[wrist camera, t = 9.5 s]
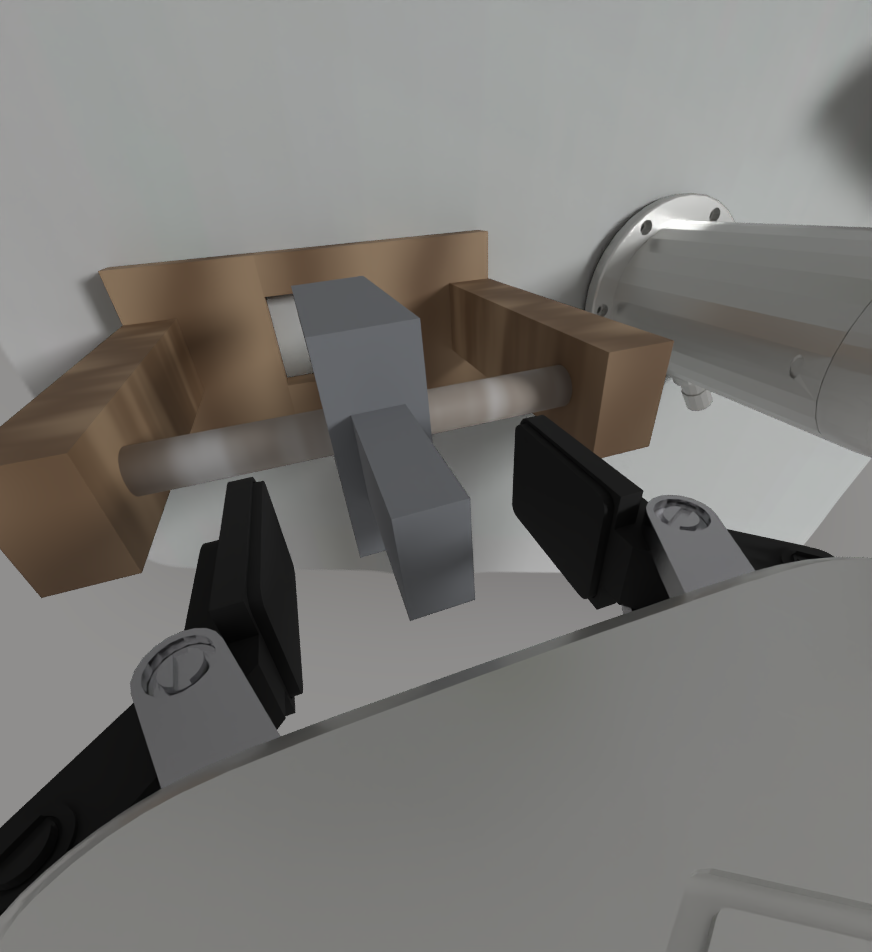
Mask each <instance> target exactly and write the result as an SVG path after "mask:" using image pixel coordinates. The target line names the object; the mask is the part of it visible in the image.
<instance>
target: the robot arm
mask: <svg viewBox="0 0 872 952" xmlns="http://www.w3.org/2000/svg"><path fill="white" fill-rule="evenodd" d="M585 311H587V312H590V313H593V314H596V315H599V316H602V317H605V318H608V319H611V320H614V321H617V322H620V323H623V324H626V325H629V326H632V327H635V328H638V329H641V330H644V331H647V332H650V333H653V334H656V335H659V336H662V337H665V338H668V339H671V340H674V344H673V348H672V352H671V356H670V360H669V365H668V369H667V373H666V375H667V376H669V377H672V378H673V381H674V383H675V384H677V385H678V386H681V388H682V390H681V392H682V394H683V397H684V400H685V403H686V406H687V408H688V409H690V410H692V411H700V410H703V409H706V408H707V407H709V406H710V405H711V403H712V402H713V399H712V395H711V392H713V393H716V394H718V395H721V396H723V397H725V398H728V399H730V400H732V401H735V402H737V403H740V404H742V405H744V406H747V407H749V408H751V409H754V410H756V411H759V412H761V413H763V414H766V415H768V416H770V417H773V418H775V419H777V420H780V421H782V422H785V423H787V424H789V425H792V426H794V427H796V428H799V429H801V430H804V431H806V432H808V433H811V434H813V435H815V436H818V437H820V438H823V439H825V440H828V441H830V442H832V443H834V444H837V445H839V446H841V447H844V448H846V449H849V450H851V451H853V452H856V453H859V454H862V455H865V456H868V457H872V228H870V227H843V226H816V225H789V224H763V223H736V222H735V221H734V219H733V217H732V216H731V214H730V212H729V210H728V209H727V208H726V207H725V206H724V205H723V204H722V203H721V202H720V201H719V200H717V199H714V198H712V197H710V196H708V195H704V194H696V193H686V194H674V195H671V196H668V197H664V198H661V199H659V200H657V201H655V202H653V203H651V204H650V205H648V206H646V207H644V208H643V209H642V210H641V211H639V212H638V213H637V214H636V215H634V216H633V217H632V218H631V219H629V221H628V222H627V223H626V224H625V225H624V226H623V227H622V228H621V229H620V230H619V231H618V233H617V234H616V235H615V236H614V238H613V239H612V241H611V242H610V244H609V245H608V247H607V248H606V250H605V251H604V253H603V255H602V257H601V259H600V261H599V263H598V265H597V267H596V269H595V272H594V275H593V278H592V281H591V283H590V286H589V290H588V295H587V300H586V306H585ZM642 494H643V490H642V489H640V488H639V487H638V486H637V485H635V484H634V483H633V482H631V481H630V480H629V479H627V478H626V477H625V476H623V475H622V474H621V473H619V472H618V471H617V470H616V469H614V468H613V467H612V466H610V465H609V464H608V463H606V462H605V461H604V460H602V459H601V458H600V457H599V456H597V455H596V454H595V453H593V452H592V451H591V450H589V449H588V448H587V447H585V446H584V445H583V444H581V443H580V442H579V441H578V440H576V439H575V438H574V437H572V436H571V435H570V434H568V433H567V432H566V431H564V430H563V429H562V428H560V427H559V426H558V425H557V424H555V423H554V422H553V421H551V420H550V419H549V418H547V417H546V416H544V415H539V416H534V417H529V418H525V419H523V420H522V421H521V423H520V425H518V426H516V430H515V449H514V473H513V497H512V506H513V510H514V513H515V515H516V516H517V518H518V519H519V520H520V521H521V523H522V524H523V525H524V526H525V528H526V529H527V530H528V531H529V533H530V534H531V535H532V536H533V538H534V539H535V540H536V541H537V543H538V544H539V545H540V546H541V548H542V549H543V550H544V551H545V553H546V554H547V555H548V557H549V558H550V559H551V560H552V562H553V563H554V564H555V565H556V567H557V568H558V569H559V570H560V572H561V573H562V574H563V575H564V576H565V578H566V579H567V580H568V582H569V583H570V584H571V585H572V587H573V588H574V589H575V590H576V592H577V593H578V594H579V595H580V596H581V597H582V598H583V599H587V598H588V599H589V600H590V602H591V603H592V604H593V606H594V607H595V608H596V609H600V608H603V607H606V606H609V605H612V604H615V603H616V602H617V603H618V604H619V605H622V611H623V615H620V616H618V617H615V618H612V619H609V620H606V621H603V622H600V623H597V624H594V625H592V626H589V627H586V628H583V629H580V630H577V631H574V632H572V633H569V634H566V635H563V636H560V637H557V638H554V639H552V640H549V641H546V642H543V643H540V644H537V645H534V646H532V647H529V648H526V649H523V650H520V651H517V652H514V653H512V654H509V655H506V656H503V657H500V658H497V659H495V660H492V661H489V662H486V663H483V664H480V665H478V666H475V667H472V668H469V669H466V670H463V671H461V672H458V673H455V674H452V675H449V676H447V677H444V678H441V679H438V680H436V681H432V682H430V683H427V684H424V685H421V686H419V687H416V688H413V689H410V690H407V691H405V692H402V693H399V694H396V695H393V696H390V697H388V698H385V699H382V700H379V701H377V702H374V703H371V704H368V705H365V706H363V707H360V708H357V709H354V710H351V711H349V712H346V713H343V714H340V715H337V716H335V717H332V718H329V719H327V720H324V721H321V722H319V723H316V724H313V725H311V726H308V727H305V728H303V729H300V730H297V731H295V732H292V733H289V734H287V735H284V736H280V735H279V733H278V731H277V729H278V728H279V726H280V725H281V724H282V722H283V721H284V720H285V716H288V715H290V714H293V713H295V698H294V696H296V695H299V694H302V693H303V681H302V666H301V652H300V639H299V625H298V624H299V623H298V609H297V595H296V581H295V572H294V567H293V563H292V560H291V557H290V554H289V551H288V548H287V545H286V542H285V539H284V536H283V533H282V531H281V528H280V525H279V522H278V519H277V516H276V513H275V510H274V507H273V504H272V502H271V499H270V496H269V493H268V490H267V487H266V484H265V482H264V481H260V482H256V481H255V479H254V478H253V477H250V478H246V479H241V480H236V481H232V482H228V484H227V490H226V496H225V503H224V510H223V516H222V523H221V530H220V537H219V540H217V541H213V542H209V543H205V544H203V545H202V547H201V549H200V554H199V559H198V564H197V569H196V574H195V579H194V584H193V589H192V594H191V599H190V604H189V609H188V614H187V619H186V625H185V629H184V631H182V632H179V633H177V634H175V635H173V636H170V637H168V638H166V639H165V640H164V641H162V642H161V643H159V644H158V645H156V646H155V647H154V648H153V649H152V650H151V651H150V652H149V653H148V654H147V655H146V656H145V657H144V658H143V659H142V660H141V662H140V663H139V665H138V666H137V668H136V669H135V671H134V674H133V676H132V679H131V682H130V687H131V696H132V699H133V702H134V703H133V704H132V705H131V706H130V707H129V708H128V709H127V710H126V711H124V712H123V713H122V714H121V715H120V716H119V717H118V718H117V719H116V720H115V721H114V722H113V723H112V724H111V725H110V726H109V727H107V728H106V729H105V730H104V731H103V732H102V733H101V734H100V735H99V736H98V737H97V738H96V739H95V740H93V741H92V742H91V743H90V744H89V745H88V746H87V747H86V748H85V749H84V750H83V751H82V752H81V753H80V754H79V755H77V756H76V757H75V758H74V759H73V760H72V761H71V762H70V763H69V764H68V765H67V766H66V767H65V768H64V769H63V770H61V771H60V772H59V773H58V774H57V775H56V776H55V777H54V778H53V779H52V780H51V781H50V782H49V783H48V784H47V785H45V786H44V787H43V788H42V789H41V790H40V791H39V792H38V793H37V794H36V795H35V796H34V797H33V798H32V799H31V800H30V801H28V802H27V803H26V804H25V805H24V806H23V807H22V808H21V809H20V810H19V811H18V812H17V813H16V814H15V815H13V816H12V817H11V818H10V819H9V820H8V821H7V822H6V823H5V824H4V825H3V826H2V827H1V828H0V952H872V558H864V557H862V558H861V557H834V556H832V555H831V554H829V553H827V552H825V551H822V550H819V549H815V548H810V547H807V546H803V545H798V544H794V543H789V542H784V541H780V540H775V539H770V538H766V537H761V536H756V535H752V534H747V533H742V532H738V531H733V530H729V529H726V528H725V526H724V525H723V523H722V522H721V520H720V519H719V517H718V516H717V515H716V513H715V512H714V511H713V510H712V509H711V508H709V507H708V506H706V505H705V504H703V503H701V502H699V501H696V500H694V499H692V498H688V497H684V496H677V495H663V496H658V497H655V498H653V499H652V500H650V501H649V502H647V501H646V500H645V499H644V498H642Z"/></svg>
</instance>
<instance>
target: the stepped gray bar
mask: <svg viewBox="0 0 872 952" xmlns="http://www.w3.org/2000/svg"><path fill="white" fill-rule="evenodd" d="M291 288H292V292H293V296H294V300H295V304H296V308H297V312H298V316H299V320H300V323H301V327H302V331H303V334H304V338H305V342H306V346H307V349H308V353H309V357H310V360H311V364H312V368H313V372H314V376H315V380H316V384H317V388H318V392H319V396H320V400H321V404H322V408H323V412H324V416H325V420H326V424H327V428H328V432H329V436H330V439H331V443H332V447H333V451H334V458H335V462H336V466H337V469H338V473H339V477H340V481H341V485H342V489H343V493H344V496H345V500H346V504H347V508H348V512H349V516H350V519H351V523H352V527H353V531H354V535H355V539H356V542H357V546H358V550H359V554H360V558H361V557H364V556H368V555H371V554H375V553H378V552H382V551H385V550H386V552H387V555H388V557H389V560H390V563H391V566H392V569H393V572H394V575H395V578H396V581H397V584H398V587H399V590H400V593H401V596H402V598H403V601H404V605H405V607H406V610H407V613H408V616H409V619H410V621H411V620H414V619H417V618H421V617H423V616H427V615H430V614H433V613H436V612H439V611H442V610H445V609H448V608H451V607H454V606H457V605H460V604H463V603H466V602H469V601H472V600H475V590H474V568H473V547H472V527H471V507H470V497H469V496H468V494H467V493H466V491H465V490H464V489H463V487H462V486H461V484H460V483H459V481H458V480H457V478H456V477H455V475H454V474H453V473H452V471H451V470H450V468H449V467H448V465H447V464H446V462H445V461H444V459H443V458H442V457H441V455H440V454H439V452H438V451H437V449H436V448H435V446H434V445H433V442H432V432H431V422H430V412H429V402H428V393H427V383H426V373H425V363H424V353H423V343H422V333H421V323H420V318H419V317H418V316H416V315H415V314H414V313H412V312H411V311H410V310H408V309H407V308H406V307H404V306H403V305H402V304H400V303H399V302H398V301H396V300H395V299H394V298H392V297H391V296H390V295H388V294H387V293H386V292H384V291H383V290H382V289H380V288H379V287H378V286H376V285H375V284H374V283H372V282H371V281H370V280H368V279H367V278H366V277H364V276H357V277H350V278H343V279H336V280H329V281H322V282H315V283H308V284H301V285H294V286H291Z"/></svg>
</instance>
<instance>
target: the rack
mask: <svg viewBox="0 0 872 952" xmlns="http://www.w3.org/2000/svg"><path fill="white" fill-rule="evenodd" d="M98 272H99V274H100V277H101V279H102V281H103V283H104V285H105V288H106V290H107V292H108V294H109V296H110V299H111V301H112V303H113V305H114V307H115V310H116V312H117V314H118V316H119V318H120V321H121V323H122V325H123V326H122V327H120V328H119V329H118V330H117V331H116V332H114V333H113V334H112V335H111V336H110V337H108V338H107V339H106V340H105V341H103V342H102V343H101V344H100V345H99V346H97V347H96V348H95V349H94V350H93V351H91V352H90V353H89V354H88V355H86V356H85V357H84V358H83V359H82V360H80V361H79V362H78V363H77V364H76V365H74V366H73V367H72V368H71V369H70V370H68V371H67V372H66V373H65V374H63V375H62V376H61V377H60V378H59V379H57V380H56V381H55V382H54V383H53V384H51V385H50V386H49V387H48V388H46V389H45V390H44V391H43V392H42V393H40V394H39V395H38V396H37V397H36V398H34V399H33V400H32V401H31V402H30V403H28V404H27V405H26V406H25V407H23V408H22V409H21V410H20V411H19V412H17V413H16V414H15V415H14V416H13V417H11V418H10V419H9V420H8V421H7V422H5V423H4V424H3V425H2V426H0V549H1V550H2V552H3V553H4V554H5V555H6V556H7V558H8V559H9V560H10V561H11V562H12V564H13V565H14V566H15V567H16V568H17V569H18V571H19V572H20V573H21V574H22V575H23V577H24V578H25V579H26V580H27V581H28V583H29V584H30V585H31V586H32V587H33V589H34V590H35V591H36V592H37V593H38V594H39V595H40V597H41V598H43V597H47V596H51V595H55V594H59V593H63V592H67V591H71V590H75V589H79V588H83V587H87V586H91V585H95V584H99V583H103V582H107V581H111V580H115V579H119V578H123V577H127V576H131V575H135V574H139V573H142V571H143V568H144V565H145V562H146V559H147V556H148V554H149V551H150V548H151V545H152V542H153V539H154V536H155V533H156V530H157V527H158V525H159V522H160V519H161V516H162V513H163V510H164V507H165V504H166V501H167V499H168V496H169V493H170V490H172V489H177V488H182V487H186V486H191V485H196V484H200V483H205V482H210V481H215V480H219V479H224V478H229V477H233V476H238V475H243V474H247V473H252V472H257V471H262V470H266V469H271V468H276V467H280V466H285V465H290V464H294V463H299V462H304V461H309V460H313V459H318V458H323V457H327V456H332V455H334V451H333V447H332V443H331V439H330V436H329V432H328V428H327V424H326V420H325V416H324V412H323V408H322V404H321V400H320V396H319V392H318V388H317V384H316V380H315V376H314V373H312V374H306V375H300V376H294V377H288V378H287V375H286V372H285V368H284V364H283V360H282V357H281V353H280V349H279V345H278V342H277V338H276V334H275V330H274V327H273V323H272V319H271V315H270V312H269V308H268V304H267V300H266V297H269V296H277V295H285V294H293V292H292V288H291V286H294V285H301V284H308V283H315V282H322V281H329V280H336V279H343V278H350V277H357V276H364V277H366V278H367V279H368V280H370V281H371V282H372V283H374V284H375V285H376V286H378V287H379V288H380V289H382V290H383V291H384V292H386V293H387V294H388V295H390V296H391V297H392V298H394V299H395V300H396V301H398V302H399V303H400V304H402V305H403V306H404V307H406V308H407V309H408V310H410V311H411V312H412V313H414V314H415V315H416V316H418V317H419V318H420V323H421V333H422V343H423V353H424V363H425V373H426V383H427V393H428V402H429V412H430V422H431V432H432V434H436V433H440V432H445V431H450V430H454V429H459V428H464V427H468V426H473V425H478V424H483V423H487V422H492V421H497V420H501V419H506V418H511V417H515V416H520V415H525V414H530V413H533V414H534V415H535V416H539V415H544V416H546V417H547V418H549V419H550V420H551V421H553V422H554V423H555V424H557V425H558V426H559V427H560V428H562V429H563V430H564V431H566V432H567V433H568V434H570V435H571V436H572V437H574V438H575V439H576V440H578V441H579V442H580V443H581V444H583V445H584V446H585V447H587V448H588V449H589V450H591V451H592V452H593V453H595V454H596V455H597V456H599V457H600V458H604V457H608V456H612V455H616V454H620V453H624V452H628V451H632V450H636V449H640V448H644V447H648V446H649V444H650V440H651V436H652V431H653V427H654V423H655V419H656V415H657V411H658V406H659V402H660V398H661V394H662V390H663V386H664V381H665V377H666V373H667V369H668V365H669V360H670V356H671V352H672V348H673V344H674V340H671V339H668V338H665V337H662V336H659V335H656V334H653V333H650V332H647V331H644V330H641V329H638V328H635V327H632V326H629V325H626V324H623V323H620V322H617V321H614V320H611V319H608V318H605V317H602V316H599V315H596V314H593V313H590V312H587V311H584V310H581V309H578V308H575V307H572V306H569V305H566V304H563V303H560V302H557V301H554V300H551V299H548V298H545V297H542V296H539V295H536V294H533V293H530V292H527V291H524V290H521V289H518V288H515V287H512V286H509V285H506V284H503V283H500V282H497V281H494V280H491V279H488V231H481V230H474V231H464V232H454V233H444V234H434V235H424V236H414V237H405V238H395V239H385V240H375V241H365V242H355V243H345V244H335V245H326V246H316V247H306V248H296V249H286V250H276V251H266V252H256V253H247V254H237V255H227V256H217V257H207V258H197V259H187V260H177V261H168V262H158V263H148V264H138V265H128V266H118V267H108V268H105V269H103V270H100V271H98Z"/></svg>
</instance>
